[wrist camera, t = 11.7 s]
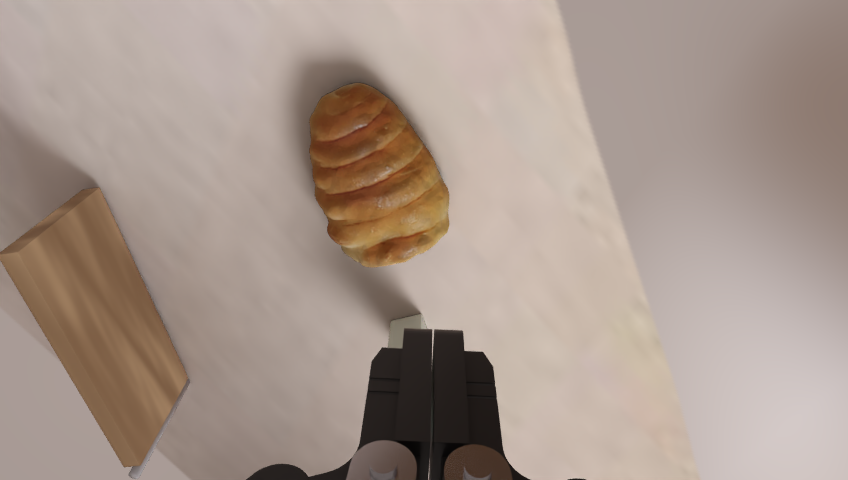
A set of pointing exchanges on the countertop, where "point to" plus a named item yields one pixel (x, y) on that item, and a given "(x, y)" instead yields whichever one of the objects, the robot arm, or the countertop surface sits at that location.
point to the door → (99, 320)
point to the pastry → (375, 178)
